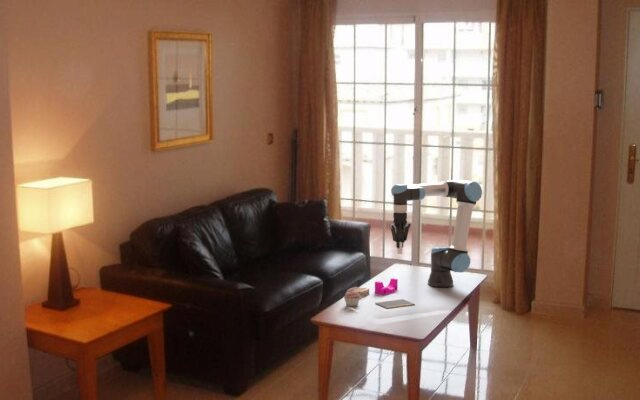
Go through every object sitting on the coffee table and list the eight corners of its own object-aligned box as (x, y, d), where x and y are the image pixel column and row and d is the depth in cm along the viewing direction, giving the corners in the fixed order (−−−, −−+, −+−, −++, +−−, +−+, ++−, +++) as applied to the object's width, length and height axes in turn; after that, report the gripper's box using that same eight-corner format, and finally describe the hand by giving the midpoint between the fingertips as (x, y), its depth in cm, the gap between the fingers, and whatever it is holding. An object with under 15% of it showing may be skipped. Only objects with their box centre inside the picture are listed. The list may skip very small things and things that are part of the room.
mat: (402, 300, 440) (402, 299, 440) (414, 304, 429) (414, 303, 429) (375, 303, 431) (375, 302, 431) (386, 308, 421) (386, 307, 421)
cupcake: (357, 308, 422) (357, 290, 421) (341, 306, 425) (341, 288, 424) (362, 304, 431) (362, 286, 430) (346, 302, 434) (346, 285, 433)
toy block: (382, 296, 450) (382, 283, 449) (374, 294, 455) (374, 281, 454) (400, 292, 460) (400, 279, 459) (392, 290, 464) (393, 278, 463)
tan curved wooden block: (346, 290, 448) (360, 291, 443) (355, 286, 456) (369, 288, 451) (346, 297, 448) (360, 299, 443) (355, 293, 457) (369, 295, 452)
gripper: (406, 210, 441) (405, 251, 444) (386, 211, 435) (386, 253, 438) (413, 211, 435) (413, 253, 437) (393, 213, 429) (393, 255, 432)
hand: (399, 253), depth 438 cm, fingers closed
